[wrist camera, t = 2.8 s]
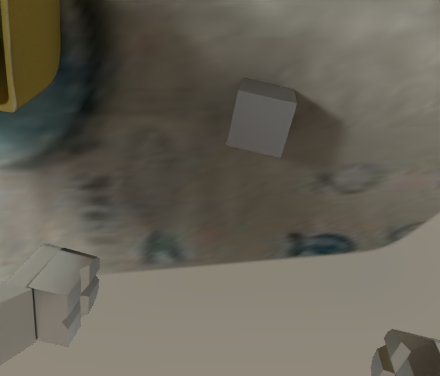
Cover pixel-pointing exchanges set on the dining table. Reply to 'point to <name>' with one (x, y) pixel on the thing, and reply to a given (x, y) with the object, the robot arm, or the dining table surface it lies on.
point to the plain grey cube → (262, 117)
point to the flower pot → (27, 49)
